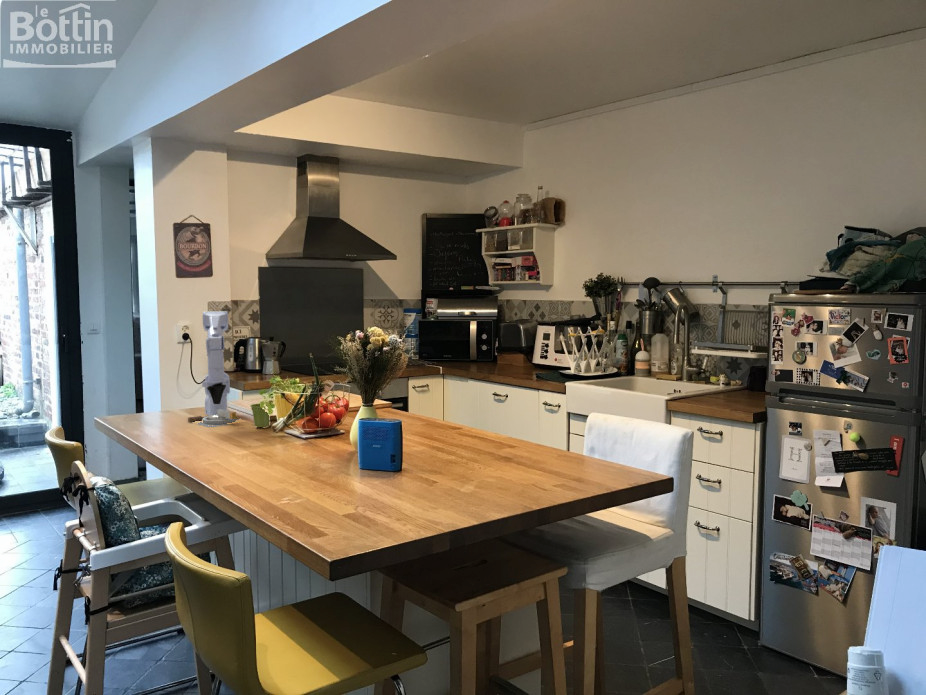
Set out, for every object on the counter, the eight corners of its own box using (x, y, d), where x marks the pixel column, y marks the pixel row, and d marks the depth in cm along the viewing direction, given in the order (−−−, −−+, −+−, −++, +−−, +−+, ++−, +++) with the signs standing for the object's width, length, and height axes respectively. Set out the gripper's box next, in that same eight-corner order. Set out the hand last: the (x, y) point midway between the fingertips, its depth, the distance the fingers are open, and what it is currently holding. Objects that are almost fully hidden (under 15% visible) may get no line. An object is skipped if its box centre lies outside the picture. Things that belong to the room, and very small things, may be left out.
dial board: (186, 423, 292) (186, 418, 292) (228, 417, 305) (227, 412, 305) (210, 429, 280) (209, 423, 280) (252, 423, 293) (252, 417, 293)
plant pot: (269, 424, 291) (268, 402, 290) (280, 427, 284) (279, 405, 283) (246, 427, 285) (246, 404, 284) (257, 430, 278) (256, 407, 277)
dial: (204, 421, 292) (204, 409, 292) (223, 418, 298) (223, 407, 298) (224, 425, 282) (224, 413, 282) (243, 422, 288) (243, 411, 288)
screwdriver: (190, 422, 290) (190, 417, 290) (187, 422, 291) (187, 417, 291) (218, 418, 299) (218, 413, 299) (215, 418, 300) (215, 413, 300)
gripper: (213, 370, 273) (214, 407, 274) (236, 366, 287) (237, 401, 288) (197, 369, 275) (198, 406, 276) (220, 366, 289) (221, 400, 290)
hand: (216, 403), depth 282 cm, fingers closed
